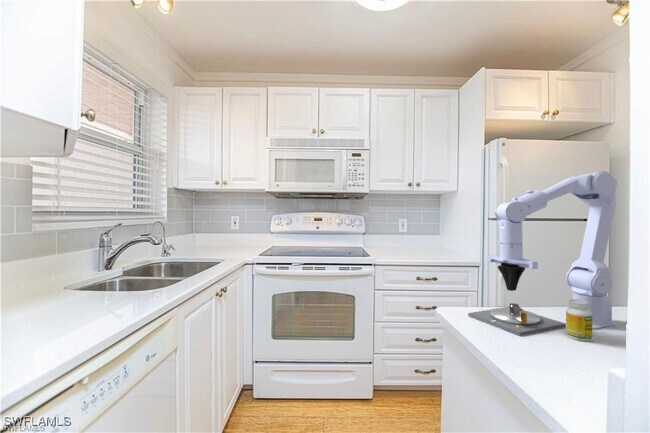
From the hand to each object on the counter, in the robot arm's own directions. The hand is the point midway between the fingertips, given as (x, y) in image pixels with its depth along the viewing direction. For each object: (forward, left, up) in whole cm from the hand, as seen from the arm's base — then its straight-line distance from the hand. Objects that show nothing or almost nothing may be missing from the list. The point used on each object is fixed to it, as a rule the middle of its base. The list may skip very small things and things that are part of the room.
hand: (511, 290), depth 92 cm
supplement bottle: (-8, +13, -11) cm, 19 cm away
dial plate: (-4, -2, -10) cm, 11 cm away
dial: (-3, -2, -9) cm, 10 cm away
